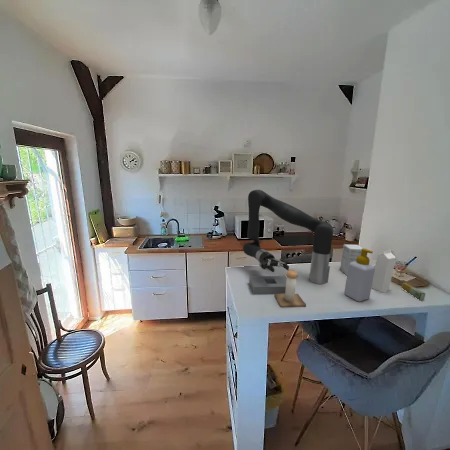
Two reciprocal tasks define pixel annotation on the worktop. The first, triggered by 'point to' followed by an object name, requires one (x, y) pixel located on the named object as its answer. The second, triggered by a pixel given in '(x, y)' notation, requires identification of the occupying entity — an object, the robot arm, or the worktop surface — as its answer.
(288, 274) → the plug
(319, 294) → the worktop surface
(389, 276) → the milk
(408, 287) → the medication box
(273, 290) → the grey base plate
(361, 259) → the soap bottle
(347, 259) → the supplement box
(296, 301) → the pad
